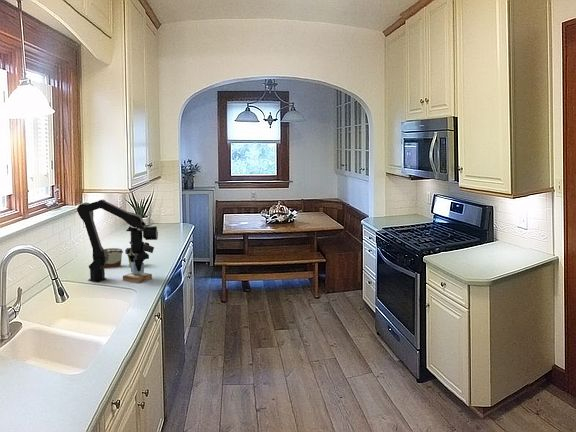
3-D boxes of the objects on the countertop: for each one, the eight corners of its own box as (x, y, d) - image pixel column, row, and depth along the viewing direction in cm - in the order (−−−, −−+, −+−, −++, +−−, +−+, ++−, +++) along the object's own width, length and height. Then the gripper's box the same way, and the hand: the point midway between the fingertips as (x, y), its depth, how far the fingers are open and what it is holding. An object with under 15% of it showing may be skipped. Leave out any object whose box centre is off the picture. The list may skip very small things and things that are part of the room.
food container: (122, 264, 290) (121, 247, 289) (123, 266, 285) (123, 249, 284) (99, 266, 285) (98, 248, 284) (100, 268, 280) (99, 250, 278)
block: (143, 272, 257) (143, 262, 256) (134, 273, 254) (133, 264, 254) (140, 270, 261) (140, 260, 260) (130, 271, 258) (130, 262, 258)
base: (138, 283, 252) (138, 278, 251) (122, 280, 256) (122, 275, 255) (151, 278, 261) (151, 273, 260) (136, 276, 265) (136, 271, 264)
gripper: (158, 241, 252) (159, 272, 254) (145, 235, 268) (146, 264, 270) (136, 243, 246) (137, 274, 248) (124, 237, 261) (125, 267, 263)
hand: (137, 270), depth 257 cm, fingers closed on block, 5 cm apart
